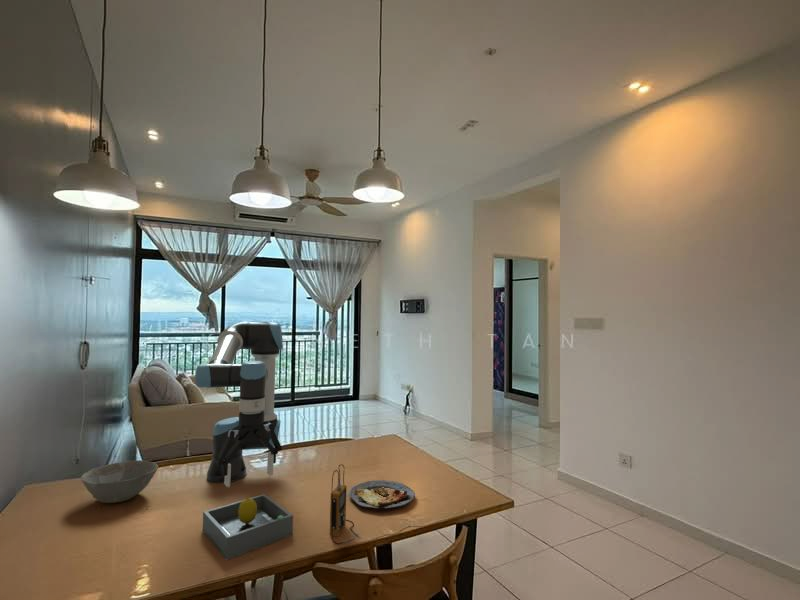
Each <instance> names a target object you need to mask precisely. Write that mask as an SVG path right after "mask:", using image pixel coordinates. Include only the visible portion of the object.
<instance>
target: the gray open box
mask: <svg viewBox="0 0 800 600" xmlns="http://www.w3.org/2000/svg"><path fill="white" fill-rule="evenodd" d="M249 498H250V499H253V500H254V501H255V502H256V505H257V510H260V509H261V510H262V511H263V512H264V513H266V514H267V515H268V516H269V517H270V518H272V519H273V520H272V521H270V522H267V523H264V524H261V525H258V526H255V527H252V528H249V529H246V530H243V531H240V532H237V533H234V534H232V535H229V534H228V533H227V532H226V531H225V530H224V529H223V528H222V527H221V526H220V524H219V523H218V522H221V521H225V520H228V519H231V518H234V517H237V516H238V510H239V506H240V504H241V503H242V501H244V500H245V499H242V500H239V501H236V502H235V501H234V502H233V503H229V504H225V505H220V506H219V507H214V508H211V509H208V510H204V511H202V512H203V513H202V533H203V534H204V535H205V537H207V539H208V540H209V541H210V542H211V544H212V545H213V546H214V548H216V550H217V551H218V552H219V553H220V555H221V556H222V557H223V558H224V559H225V561H228V560H230V559H234V558H237V557H239V556H241V555H243V554H246V553H249V552H251V551H255V550H257V549H260V548H262V547H265V546H267V545H270V544H273V543H276V542H278V541H280V540H283V539H286V538H288V537H291V536H293V530H294V515H293V514H292V513H291V512H289V511H288V510H287V509H286V508H284V507H283V506H282V505H280V503H278V502H276V501H275V500H274V499H272V498H271V497H269V496H268V495H267V494H265V493H263V494H260V495H256V496H253V497H249Z"/></svg>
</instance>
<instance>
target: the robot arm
mask: <svg viewBox="0 0 800 600" xmlns="http://www.w3.org/2000/svg"><path fill="white" fill-rule="evenodd" d="M216 342H217V346H216V347H215V349H214V352H213V354H212V355H211V357H210V359H209V361H208V363H205V364H204V363H201V364H198V365H197V367H196V370H195V374H194V380H195V381H194V382H195V385H196V387H198V388H208V389H210V388H237V387H238V388H239V402H238V403H239V404H238V407H239V408H238V411H239V413H238V416H235V417H228V418H224V419H221V420H219V421H217V422H216V423H215V424H214V425H213V433H212V436H213V437H212V458H211V461H210V462H209V463H210V464H209V466H208V469H207V473H206V479H207V481H209V482H211V483H220V484H221V483H224V485H225V486H226V488H230V487H231V482H234V481H238V480H241V479H242V478H243V477H245V476H246V474H247V466H246V463H245V460H244V455H243V451H244V450H247V451H248V450H249V451H250V450H268V451H269V452H267V464H266V465H267V467H266V474H267V475H269V476H273V475H274V464H276V462H277V455H278V453H279V452H280V451H282V450H283V447H282V444H281V443H280V440H279V434H280V427H281V422H282V421H281V420H280V419H278V415H277V413H275V389H276V388H275V386H276V383H275V382H276V360H277V359H276V358H277V357H278V356H279V355H280V351H281V350H283V349H284V341H283V331H282V326H281V324H280V323H279V322H274V321H273V322H272V321H240V322H237V323H235V324H231V325H230V326H228V327H226V328H225V329H223V331H221V332H220V334H219V336H218V338H217V341H216ZM240 350H250V354H251V356H253V357H254V360H248V361H243V362H242V363H234V361H235V358H236V356H237V353H238V351H240Z"/></svg>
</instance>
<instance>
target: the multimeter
mask: <svg viewBox="0 0 800 600" xmlns="http://www.w3.org/2000/svg"><path fill="white" fill-rule="evenodd" d="M341 466H342V467H343V468H345V466H344V464H339V465H338V467H341ZM335 472H337V475H338V477H337V486H336V487H335V488H334V489H333V490H332V491H331V493H330V507H329V508H330V509H329V513H330V514H329V536H331V540H332V542H333V543H334V544H336V545H341V544H343V543H344V544H345V543H347V542H349V541H351V540H352V539H354V538H356V537H359V538H360V539H361V538H362V537H361V536H360V534H358V532H356V531H355V530H352V528H353V527H354V525H355V524H354V522H353V521H352V520H349V519H346V518H347V517H346V516H347V488H348V487H347V485H345V471H343V472H342V473H343V474H342V481H343V483H342V484H343V485H342V484H341V469H340V468H338V470H337V469H336V470H334V471H333V473H332V478H331V488H333V486H334V485H333V481H334V475H335ZM346 521H347V522H350V523H352V525H351V526H350V527H349V529H350V531H351V532H352V533H353V534H355V535H356V536H354V537H350V538H348V539H345V540H343V541H342V542H339V543H337V542H336V541H335V540H334V537H339V536H340V534H341V532H342V531H343V530H344V529H345V527H346Z"/></svg>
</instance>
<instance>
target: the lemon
mask: <svg viewBox="0 0 800 600" xmlns="http://www.w3.org/2000/svg"><path fill="white" fill-rule="evenodd" d="M250 498H251V497H247V498H246V499H243V500H244V501H242V500H241V501H242V503H241V504H240V506H239V510H238V517H239V519H240V521H241V522H243V523H245V524H246V525H247V524H249V523H250V522H252V521H253V520H254V519H255V517H256V514H257V505H256V502H255V501H254V500H253V499H250Z"/></svg>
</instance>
